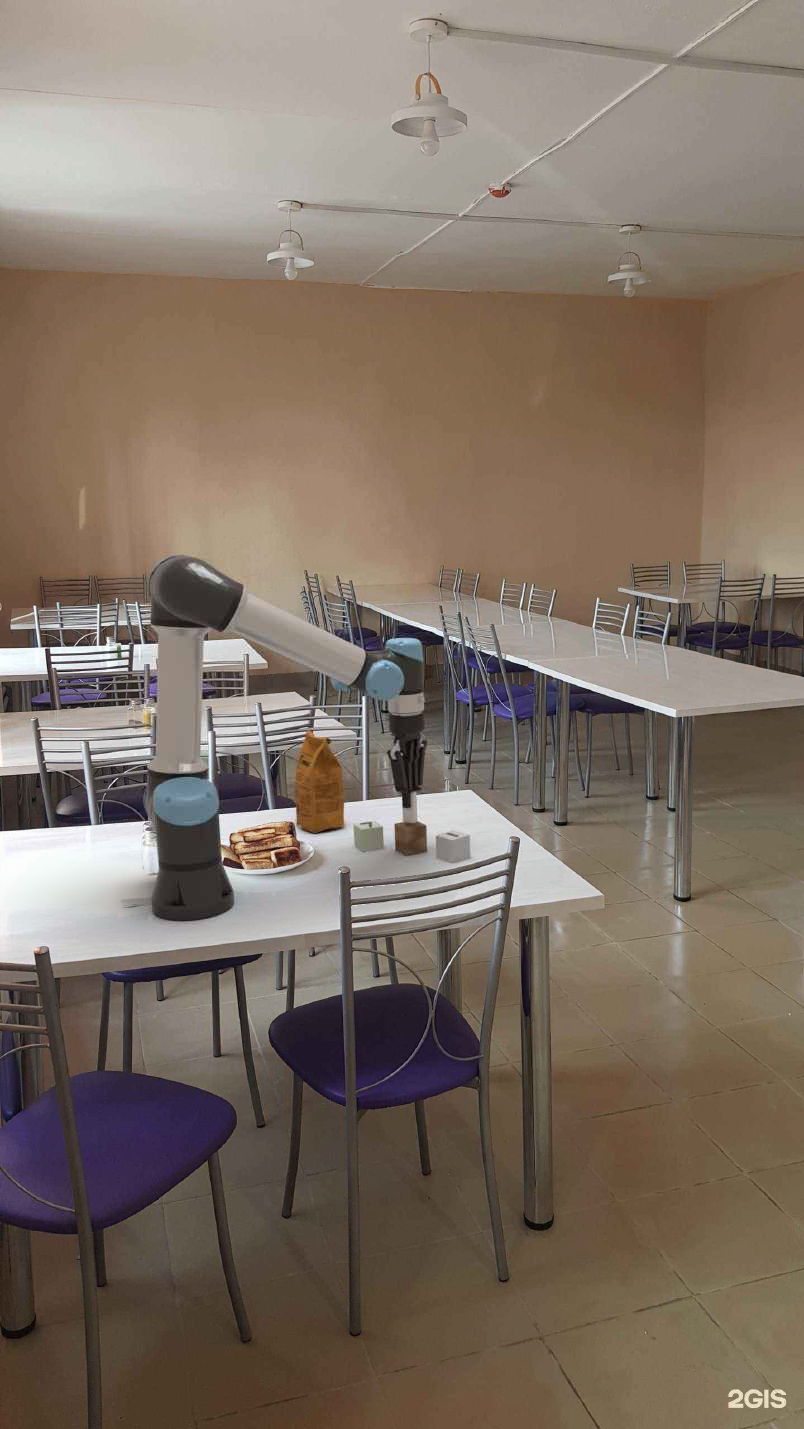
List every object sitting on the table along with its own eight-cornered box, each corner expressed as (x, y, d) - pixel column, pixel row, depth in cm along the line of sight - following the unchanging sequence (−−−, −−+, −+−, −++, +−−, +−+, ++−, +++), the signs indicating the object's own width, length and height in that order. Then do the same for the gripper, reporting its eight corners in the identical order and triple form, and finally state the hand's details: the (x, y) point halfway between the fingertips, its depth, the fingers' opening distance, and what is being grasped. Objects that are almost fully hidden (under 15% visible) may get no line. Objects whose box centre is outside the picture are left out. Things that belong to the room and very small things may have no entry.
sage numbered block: (361, 852, 228) (361, 829, 227) (354, 845, 232) (353, 823, 231) (383, 848, 230) (382, 825, 229) (375, 842, 234) (375, 820, 233)
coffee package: (329, 816, 256) (325, 727, 252) (349, 829, 245) (345, 735, 241) (290, 822, 252) (285, 731, 248) (309, 835, 240) (304, 741, 236)
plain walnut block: (406, 856, 224) (405, 829, 223) (395, 850, 228) (394, 823, 227) (427, 852, 226) (426, 825, 225) (415, 846, 230) (414, 819, 229)
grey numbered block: (452, 863, 218) (451, 839, 217) (436, 858, 222) (435, 834, 221) (470, 858, 221) (469, 834, 220) (454, 852, 225) (453, 829, 224)
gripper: (406, 719, 214) (410, 831, 218) (437, 708, 225) (440, 815, 229) (374, 716, 218) (379, 827, 222) (406, 706, 229) (410, 811, 233)
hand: (410, 821), depth 226 cm, fingers closed
